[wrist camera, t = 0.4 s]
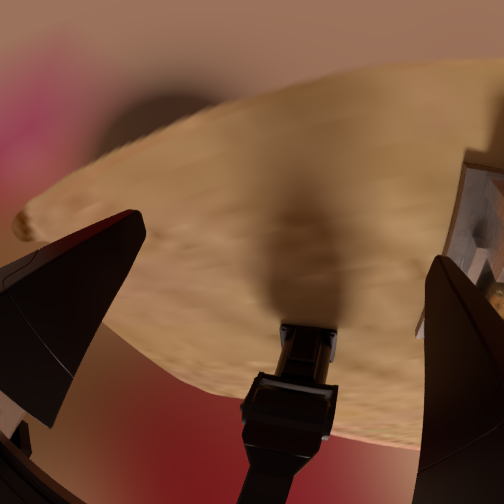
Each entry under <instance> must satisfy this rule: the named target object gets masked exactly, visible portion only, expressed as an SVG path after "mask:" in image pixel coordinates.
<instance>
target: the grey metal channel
mask: <svg viewBox="0 0 504 504" xmlns="http://www.w3.org/2000/svg"><path fill="white" fill-rule="evenodd" d="M442 256H448V257H450V258H451V259H452V260H453V261H454V262H455V263H456V264H457V266H458V267H459V268H460V269H461V270H462V271H463V272H464V273H465V274H466V275H467V277H468V278H469V279H470V280H471V281H472V282H473V283H474V284H475V286H476V287H477V288H478V289H479V290H480V291H481V293H482V294H483V295H484V296H485V297H486V299H487V297H488V295H489V293H490V291H491V289H492V287H493V285H494V284H495V283H496V282H503V283H504V170H502V169H497V168H492V167H486V166H481V165H475V164H469V163H463V165H462V171H461V177H460V183H459V188H458V193H457V198H456V203H455V208H454V212H453V216H452V221H451V225H450V229H449V232H448V236H447V240H446V244H445V247H444V251H443V254H442ZM424 313H425V308H424V310H423V313H422V315H421V318H420V320H419V323H418V325H417V328H416V330H415V338H418V339H424Z"/></svg>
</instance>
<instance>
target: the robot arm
mask: <svg viewBox="0 0 504 504" xmlns="http://www.w3.org/2000/svg"><path fill="white" fill-rule="evenodd" d="M145 238H146V229H145V225H144V221H143V217H142V214H141V212H140V211H138V210H132V209H128V210H126V211H123V212H121V213H118V214H116V215H113V216H111V217H109V218H106V219H104V220H102V221H99V222H97V223H95V224H92V225H90V226H88V227H85V228H83V229H81V230H79V231H76V232H74V233H72V234H70V235H68V236H66V237H63V238H61V239H59V240H57V241H55V242H53V243H51V244H49V245H47V246H44V247H43V248H41V249H40V250H36V251H35V252H32V253H30V254H28V255H26V256H24V257H22V258H20V259H18V260H16V261H14V262H12V263H10V264H8V265H5V266H3V267H1V268H0V504H86V503H85V502H84V501H82V500H81V499H79V498H78V497H77V496H75V495H74V494H72V493H71V492H70V491H68V490H67V489H65V488H64V487H63V486H62V485H60V484H59V483H57V482H56V481H55V480H54V479H52V478H51V477H50V476H49V475H48V474H46V473H45V472H44V471H43V470H41V469H40V468H39V467H38V466H37V465H36V464H35V463H34V462H32V461H31V460H30V459H29V457H30V456H31V454H32V450H31V444H30V437H29V429H28V424H27V423H26V422H25V421H24V420H23V419H22V418H23V416H24V415H25V413H26V412H27V413H28V414H30V415H31V416H33V417H34V418H35V419H36V420H38V421H39V422H40V423H42V424H43V425H45V426H46V427H48V428H49V429H51V428H52V427H53V425H54V422H55V420H56V417H57V415H58V413H59V410H60V408H61V405H62V403H63V401H64V398H65V396H66V394H67V392H68V389H69V387H70V385H71V383H72V381H73V377H74V376H75V374H76V372H77V369H78V367H79V365H80V363H81V361H82V359H83V357H84V355H85V353H86V351H87V349H88V347H89V345H90V343H91V341H92V339H93V337H94V335H95V333H96V331H97V329H98V327H99V326H100V323H101V322H102V320H103V318H104V316H105V314H106V313H107V311H108V309H109V307H110V305H111V303H112V302H113V300H114V298H115V296H116V294H117V293H118V291H119V289H120V287H121V286H122V284H123V282H124V281H125V279H126V277H127V275H128V273H129V271H130V269H131V267H132V265H133V263H134V261H135V259H136V256H137V254H138V252H139V250H140V248H141V246H142V244H143V242H144V240H145ZM280 337H281V346H282V351H281V355H280V358H279V361H278V365H277V368H276V371H275V375H270V374H265V373H264V372H259V374H258V376H257V377H256V378H254V381H253V384H252V386H251V388H250V390H249V393H248V394H247V396H246V397H245V399H244V400H243V402H242V403H241V405H240V410H241V412H242V424H244V429H243V432H242V438H243V442H244V445H245V449H246V453H247V457H248V460H249V463H250V467H249V470H248V473H247V476H246V479H245V481H244V484H243V487H242V490H241V493H240V495H239V498H238V501H237V503H236V504H285V503H286V500H287V497H288V494H289V490H290V487H291V484H292V481H293V477H295V475H297V474H298V473H299V472H300V471H301V470H302V469H303V468H304V467H305V466H306V465H307V464H308V463H309V462H310V461H311V460H312V459H313V458H314V457H315V455H316V454H317V452H318V451H319V448H320V445H321V441H322V440H325V441H327V440H328V438H329V436H330V432H331V429H332V425H333V421H334V415H335V409H336V402H337V394H338V386H339V385H327V384H325V383H326V378H327V373H328V367H329V363H332V362H333V360H334V353H335V346H336V339H337V332H336V331H335V330H328V329H319V328H311V327H302V326H294V325H286V324H282V325H281V326H280ZM424 353H425V392H424V415H423V429H422V440H421V450H420V458H419V466H418V473H417V478H416V484H415V489H414V495H413V500H412V504H504V320H503V319H502V317H501V316H500V315H499V313H498V312H497V311H496V310H495V308H494V307H493V306H492V305H491V303H490V302H489V301H488V300H487V299H486V297H485V296H484V295H483V294H482V293H481V291H480V290H479V289H478V288H477V287H476V286H475V284H474V283H473V282H472V281H471V280H470V279H469V278H468V277H467V275H466V274H465V273H464V272H463V271H462V270H461V269H460V268H459V267H458V266H457V264H456V263H455V262H454V261H453V260H452V259H451V258H450V257H448V256H442V255H437V256H435V258H434V260H433V262H432V265H431V267H430V270H429V272H428V274H427V277H426V281H425V313H424Z"/></svg>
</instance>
